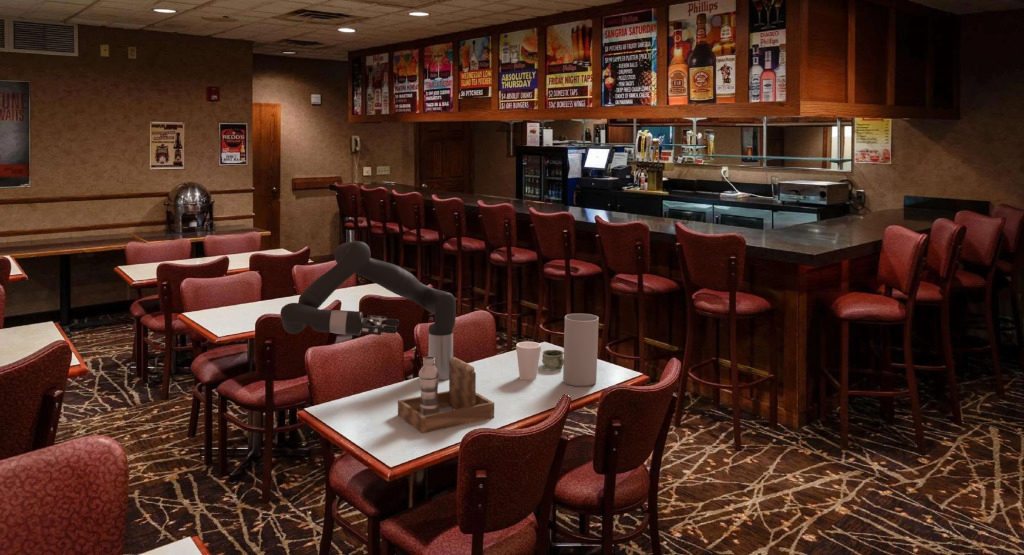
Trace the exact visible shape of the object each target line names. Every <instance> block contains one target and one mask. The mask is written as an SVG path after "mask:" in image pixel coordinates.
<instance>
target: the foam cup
mask: <svg viewBox="0 0 1024 555" xmlns="http://www.w3.org/2000/svg"><path fill="white" fill-rule="evenodd" d="M515 352H516V357H517V365H518V374H519V375H518V376H519V379H520V378H521V379H520V380H522V379H524V380H523V381H535V380H536V379H537V375H538V369H539V363H540V355H541V352H542V344H541V343H539V342H535V341H520V342H518V343H516V346H515Z"/></svg>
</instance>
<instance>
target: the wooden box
mask: <svg viewBox="0 0 1024 555" xmlns="http://www.w3.org/2000/svg"><path fill="white" fill-rule="evenodd" d="M476 374H477V373H476V372H475V367H474V366H473V365H470V363H468V362H465V361H464V360H461V359H459V358H457V357H455V356H453V357H452V358H451V360H450V361H449V379H448V380H449V381H448V382H449V383H448V384H449V385H448V388H449V390H446V391H441V392H438V403H439V407H440V409H442V408H447V407H450V408H451V409H452V410H451V409H450V410H446V411H442V412H439V413H435V414H431V415H426V416H423V415H422V414H421V413H420V412H419V407H420V401H421V395H420V396H414V397H409V398H404V399H399V400H397V416H399V417H400V418H401V419H403V420H404V421H405V422H407V423H408V424H409V425H410V426H412V427H413V428H414V429H416V430H417V431H418V432H420V433H421V434H424V433H429V432H434V431H439V430H442V429H443V428H444V429H447V428H451V427H453V428H454V427H458V426H462V425H466V424H465V423H467V424H470V423H469V422H471V423H476V422H479V421H484V419H485V420H489V418H490V419H493V418H495V402H493V401H492V400H490V399H488V397H487V398H486V397H485V396H483V395H481V394H479V393H477V392H476V391H477V390H476V389H477V388H476V385H477V384H476V383H477V379H476V377H477V376H476ZM454 409H455V410H454ZM475 421H476V422H475ZM461 424H462V425H461ZM457 425H458V426H457Z"/></svg>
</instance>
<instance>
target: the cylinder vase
mask: <svg viewBox="0 0 1024 555" xmlns="http://www.w3.org/2000/svg"><path fill="white" fill-rule="evenodd" d="M599 318H600V317H599V316H598V315H594V314H591V313H569V314H566V315H565V316H564V334H563V337H564V339H563V352H564V354H563V359H564V364H563V366H562V369H563V370H562V374H563V375H562V376H563V377H562V380H563V381H562V382H564V383H565V384H566V385H569V386H572V387H581V388H582V387H584V386H585V387H590V385H591V386H593V385H594V384H596V382H597V371H598V369H597V367H598V351H599V350H598V345H599V344H598V343H599V341H598V340H599ZM585 387H584V388H585Z"/></svg>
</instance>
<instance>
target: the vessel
mask: <svg viewBox="0 0 1024 555" xmlns="http://www.w3.org/2000/svg"><path fill="white" fill-rule="evenodd" d="M541 361H542V364H543V369H545V370H548V371H560V370H562V369H563V364H564V351H562V350H559V349H546V350H543V351H542V359H541Z"/></svg>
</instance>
